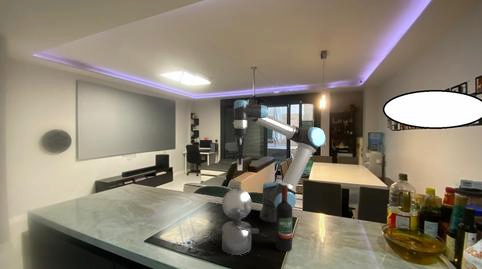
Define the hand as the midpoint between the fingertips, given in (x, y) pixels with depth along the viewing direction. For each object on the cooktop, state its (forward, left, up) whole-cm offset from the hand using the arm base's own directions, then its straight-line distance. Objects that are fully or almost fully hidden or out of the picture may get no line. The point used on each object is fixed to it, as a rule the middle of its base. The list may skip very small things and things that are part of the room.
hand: (239, 170), depth 117 cm
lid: (+6, -1, -17) cm, 18 cm away
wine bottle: (+16, +22, -35) cm, 44 cm away
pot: (+16, -1, -35) cm, 38 cm away
